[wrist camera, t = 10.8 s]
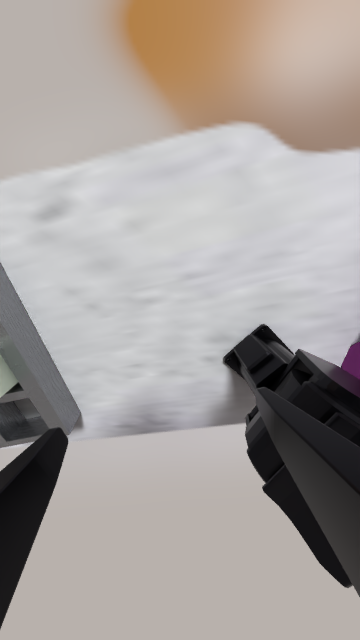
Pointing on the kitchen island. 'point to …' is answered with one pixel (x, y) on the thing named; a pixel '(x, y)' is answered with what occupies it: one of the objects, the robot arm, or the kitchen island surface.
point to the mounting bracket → (352, 360)
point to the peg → (6, 377)
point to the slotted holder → (29, 376)
